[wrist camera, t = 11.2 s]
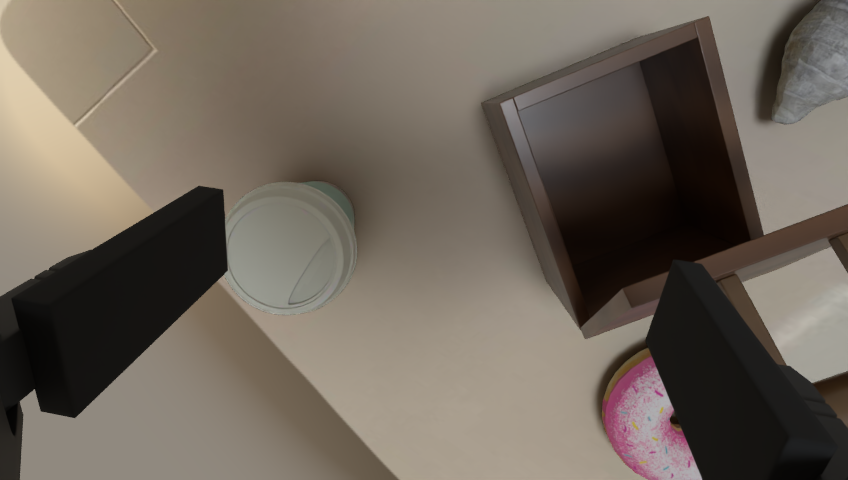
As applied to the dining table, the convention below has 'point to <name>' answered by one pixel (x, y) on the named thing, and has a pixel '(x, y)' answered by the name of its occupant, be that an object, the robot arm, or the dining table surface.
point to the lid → (733, 266)
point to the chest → (626, 164)
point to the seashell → (814, 63)
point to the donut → (645, 423)
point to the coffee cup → (291, 246)
